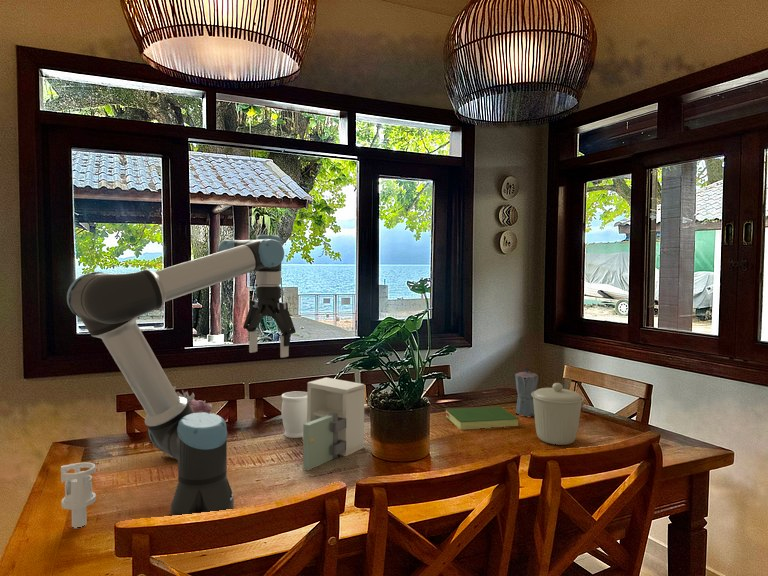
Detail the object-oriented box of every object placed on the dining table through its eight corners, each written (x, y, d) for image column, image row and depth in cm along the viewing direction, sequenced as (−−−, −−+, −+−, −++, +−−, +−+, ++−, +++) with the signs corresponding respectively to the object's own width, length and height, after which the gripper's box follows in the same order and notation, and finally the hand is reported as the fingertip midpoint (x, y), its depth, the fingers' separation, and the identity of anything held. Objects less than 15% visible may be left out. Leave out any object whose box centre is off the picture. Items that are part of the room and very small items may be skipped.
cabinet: (334, 462, 165) (334, 393, 164) (294, 450, 174) (295, 385, 173) (364, 447, 178) (364, 384, 177) (325, 437, 187) (326, 377, 186)
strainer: (60, 522, 124) (59, 461, 124) (94, 515, 128) (93, 455, 128) (62, 535, 118) (61, 471, 118) (97, 527, 122) (97, 464, 122)
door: (310, 471, 157) (310, 425, 156) (301, 468, 159) (301, 423, 158) (340, 456, 169) (340, 414, 169) (331, 454, 171) (332, 412, 171)
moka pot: (513, 418, 215) (514, 370, 214) (514, 408, 230) (516, 363, 229) (537, 420, 212) (538, 372, 211) (537, 410, 227) (538, 365, 226)
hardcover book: (498, 414, 222) (498, 405, 222) (518, 428, 203) (518, 418, 203) (442, 417, 217) (443, 408, 217) (458, 431, 198) (458, 421, 198)
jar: (304, 440, 184) (304, 398, 183) (276, 438, 186) (276, 397, 185) (313, 431, 194) (314, 391, 194) (288, 429, 197) (288, 390, 196)
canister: (519, 436, 192) (521, 380, 191) (555, 429, 200) (557, 375, 199) (556, 452, 176) (558, 391, 175) (593, 444, 184) (595, 386, 183)
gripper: (307, 286, 155) (307, 357, 156) (250, 284, 169) (250, 348, 170) (289, 287, 149) (289, 360, 150) (231, 284, 163) (231, 351, 164)
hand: (268, 354), depth 160 cm, fingers open, 13 cm apart
